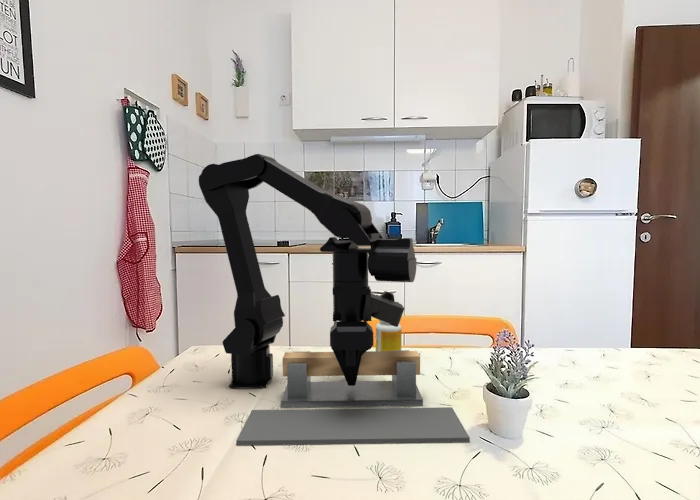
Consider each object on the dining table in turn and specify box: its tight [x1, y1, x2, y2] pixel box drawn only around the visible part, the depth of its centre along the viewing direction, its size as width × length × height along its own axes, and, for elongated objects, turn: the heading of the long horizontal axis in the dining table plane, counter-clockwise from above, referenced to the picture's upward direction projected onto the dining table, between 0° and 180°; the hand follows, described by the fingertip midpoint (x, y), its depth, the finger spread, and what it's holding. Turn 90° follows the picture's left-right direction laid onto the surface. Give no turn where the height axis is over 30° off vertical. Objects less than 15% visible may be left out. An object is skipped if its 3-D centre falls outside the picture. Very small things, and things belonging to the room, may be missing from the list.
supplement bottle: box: [375, 319, 402, 351], centre depth 88 cm, size 5×5×10 cm
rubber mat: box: [235, 406, 471, 446], centre depth 58 cm, size 30×9×1 cm, turn 91°
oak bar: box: [282, 350, 421, 377], centre depth 69 cm, size 22×3×3 cm, turn 91°
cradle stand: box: [280, 349, 424, 409], centre depth 69 cm, size 22×8×6 cm, turn 91°
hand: (351, 374), depth 69 cm, fingers open, 9 cm apart
